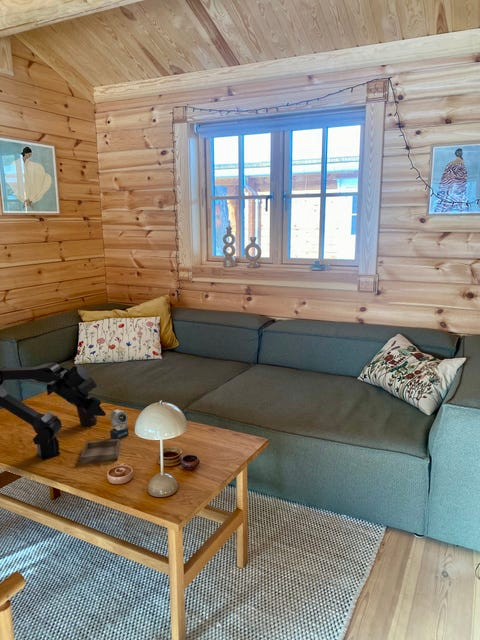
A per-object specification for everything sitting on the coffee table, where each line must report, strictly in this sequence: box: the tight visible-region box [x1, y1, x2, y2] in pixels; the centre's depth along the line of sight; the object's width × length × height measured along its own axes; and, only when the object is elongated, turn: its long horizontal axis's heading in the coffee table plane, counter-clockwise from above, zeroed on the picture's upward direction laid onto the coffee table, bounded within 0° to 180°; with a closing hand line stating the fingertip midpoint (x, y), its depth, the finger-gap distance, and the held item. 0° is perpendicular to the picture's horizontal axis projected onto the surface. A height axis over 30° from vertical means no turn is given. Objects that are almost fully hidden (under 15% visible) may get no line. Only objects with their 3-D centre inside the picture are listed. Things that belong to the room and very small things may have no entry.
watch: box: [109, 409, 130, 440], centre depth 185 cm, size 6×8×11 cm
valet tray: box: [80, 439, 122, 465], centre depth 172 cm, size 13×12×3 cm
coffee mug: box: [76, 407, 98, 428], centre depth 198 cm, size 12×9×10 cm
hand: (99, 411), depth 178 cm, fingers open, 9 cm apart
